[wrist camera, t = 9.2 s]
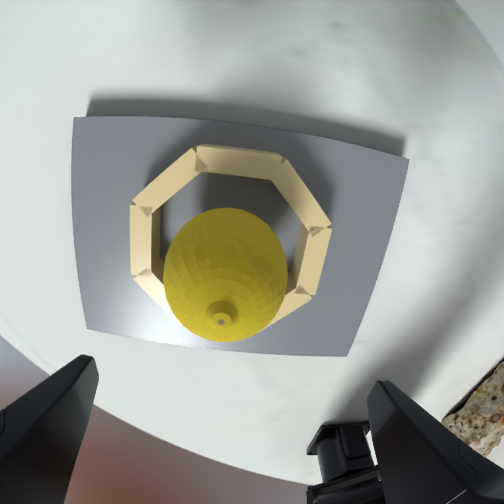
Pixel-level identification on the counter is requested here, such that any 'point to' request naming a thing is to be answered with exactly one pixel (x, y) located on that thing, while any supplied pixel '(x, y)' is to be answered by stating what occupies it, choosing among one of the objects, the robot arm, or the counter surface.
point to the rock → (481, 415)
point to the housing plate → (233, 196)
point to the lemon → (225, 275)
